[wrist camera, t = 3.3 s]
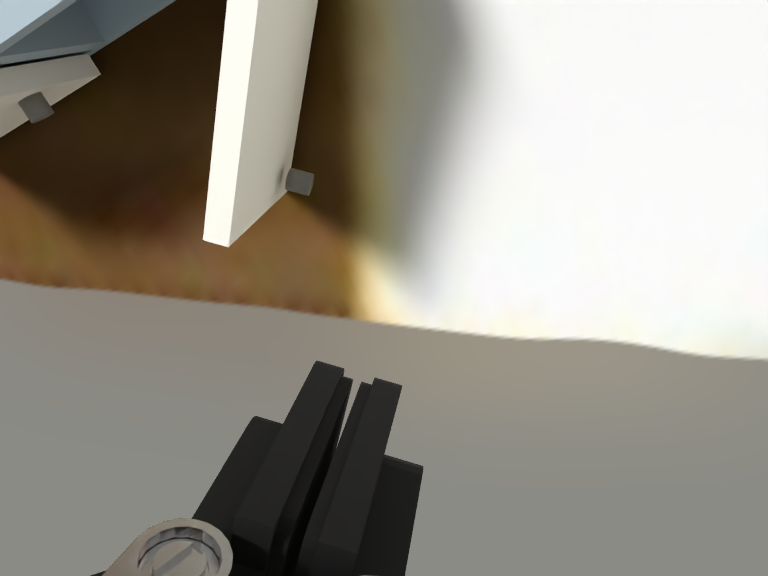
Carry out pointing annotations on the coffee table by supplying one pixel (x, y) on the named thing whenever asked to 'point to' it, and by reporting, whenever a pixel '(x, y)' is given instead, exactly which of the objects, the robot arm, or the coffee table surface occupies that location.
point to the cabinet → (56, 49)
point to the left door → (257, 113)
